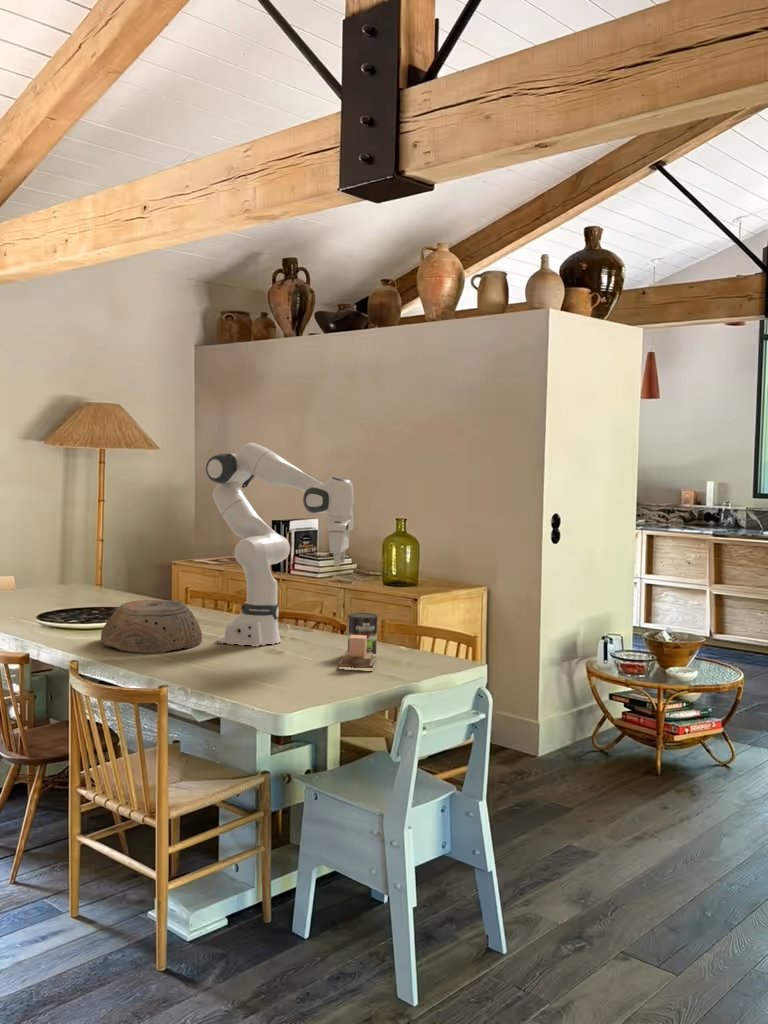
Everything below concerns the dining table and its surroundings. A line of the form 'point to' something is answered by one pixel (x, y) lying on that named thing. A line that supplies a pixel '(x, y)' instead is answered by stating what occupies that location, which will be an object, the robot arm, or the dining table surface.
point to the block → (358, 645)
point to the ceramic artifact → (151, 627)
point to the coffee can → (364, 628)
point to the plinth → (357, 661)
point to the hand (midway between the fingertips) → (339, 564)
